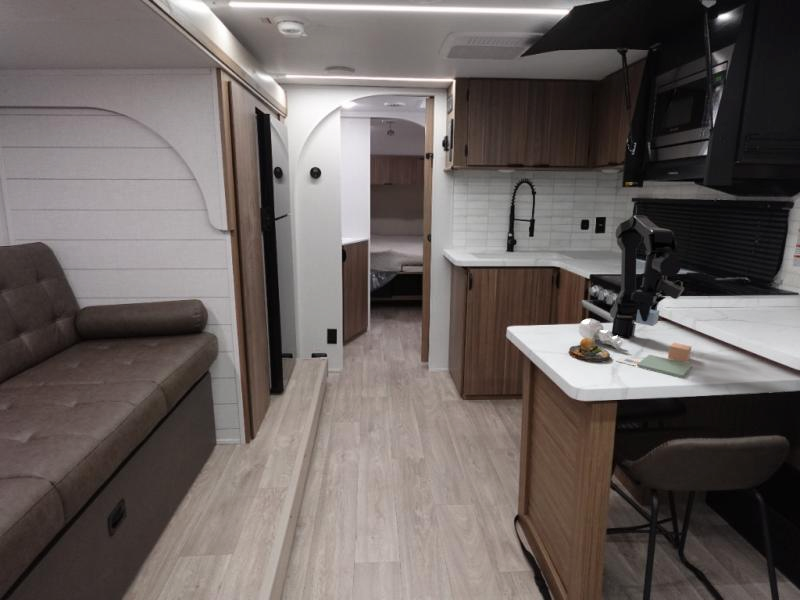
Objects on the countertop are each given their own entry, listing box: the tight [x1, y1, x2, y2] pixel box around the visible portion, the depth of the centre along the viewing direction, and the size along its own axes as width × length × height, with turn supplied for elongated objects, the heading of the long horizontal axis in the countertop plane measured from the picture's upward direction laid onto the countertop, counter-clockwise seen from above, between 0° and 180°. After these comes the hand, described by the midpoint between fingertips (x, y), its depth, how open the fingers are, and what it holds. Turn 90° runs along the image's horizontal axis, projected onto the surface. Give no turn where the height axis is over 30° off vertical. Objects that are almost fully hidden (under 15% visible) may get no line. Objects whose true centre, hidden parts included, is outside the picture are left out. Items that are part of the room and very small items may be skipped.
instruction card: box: [616, 356, 644, 369], centre depth 149 cm, size 8×6×1 cm
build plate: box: [637, 354, 694, 379], centre depth 146 cm, size 12×12×1 cm
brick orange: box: [667, 342, 692, 363], centre depth 154 cm, size 5×5×4 cm
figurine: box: [578, 318, 624, 350], centre depth 166 cm, size 11×7×15 cm
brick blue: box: [635, 309, 660, 327], centre depth 155 cm, size 5×5×4 cm
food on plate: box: [568, 335, 611, 364], centre depth 153 cm, size 12×12×8 cm
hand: (647, 319), depth 155 cm, fingers closed on brick blue, 5 cm apart
